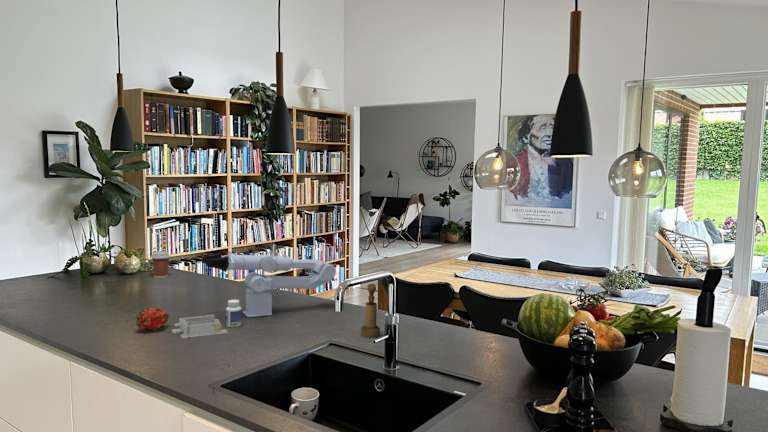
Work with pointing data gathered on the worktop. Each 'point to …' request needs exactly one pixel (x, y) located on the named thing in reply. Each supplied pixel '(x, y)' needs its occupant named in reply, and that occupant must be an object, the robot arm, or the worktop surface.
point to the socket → (199, 326)
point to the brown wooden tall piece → (370, 316)
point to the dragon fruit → (152, 319)
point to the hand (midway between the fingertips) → (204, 261)
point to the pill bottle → (233, 314)
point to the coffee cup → (160, 264)
